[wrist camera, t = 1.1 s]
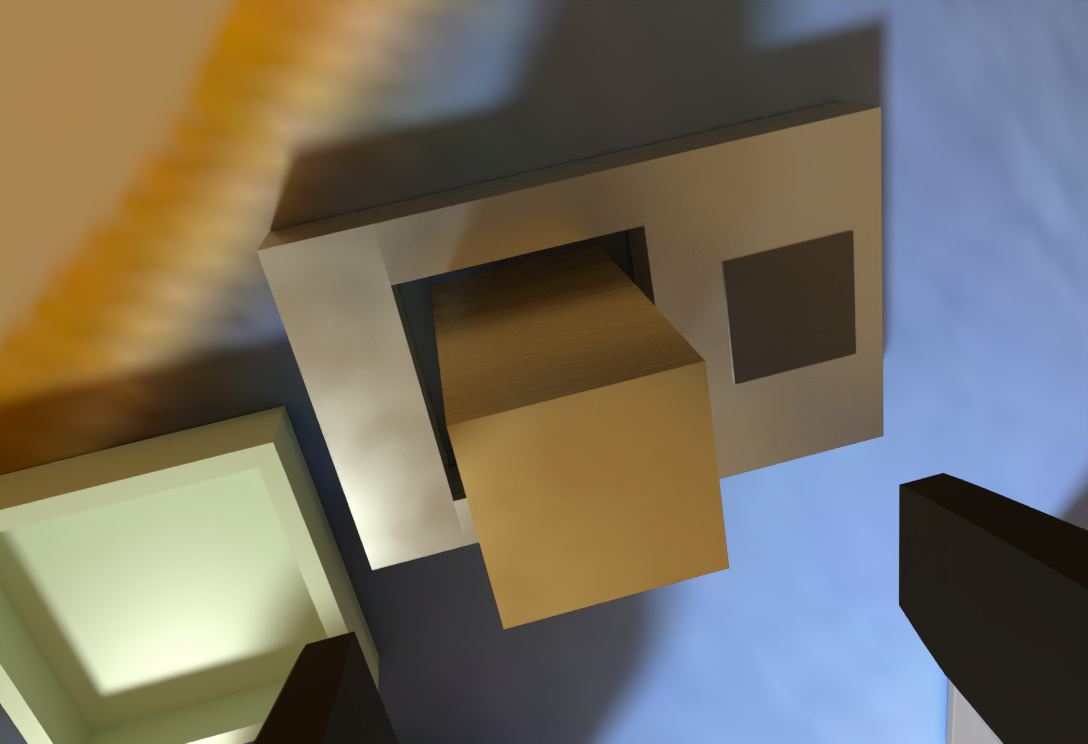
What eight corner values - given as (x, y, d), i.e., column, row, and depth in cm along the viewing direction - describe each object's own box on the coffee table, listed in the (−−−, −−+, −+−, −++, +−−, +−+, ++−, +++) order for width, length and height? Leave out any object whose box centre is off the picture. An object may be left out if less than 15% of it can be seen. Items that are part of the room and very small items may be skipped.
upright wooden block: (598, 245, 18) (705, 360, 12) (624, 396, 20) (729, 567, 14) (429, 285, 18) (446, 426, 12) (470, 435, 20) (503, 629, 13)
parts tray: (284, 405, 18) (272, 441, 17) (379, 655, 22) (377, 706, 20) (-65, 491, 18) (-113, 537, 16) (87, 734, 21) (62, 793, 20)
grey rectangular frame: (842, 100, 18) (882, 106, 16) (850, 408, 21) (884, 436, 20) (269, 231, 17) (256, 251, 15) (374, 531, 20) (372, 571, 19)
